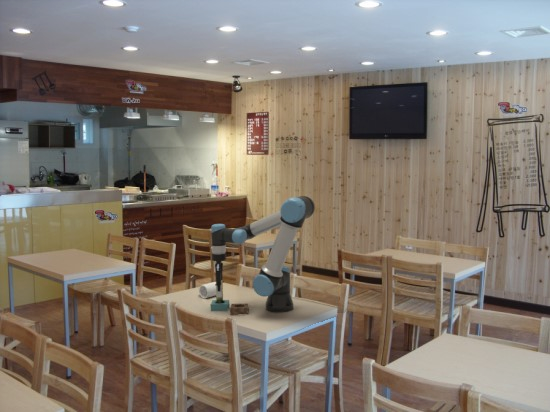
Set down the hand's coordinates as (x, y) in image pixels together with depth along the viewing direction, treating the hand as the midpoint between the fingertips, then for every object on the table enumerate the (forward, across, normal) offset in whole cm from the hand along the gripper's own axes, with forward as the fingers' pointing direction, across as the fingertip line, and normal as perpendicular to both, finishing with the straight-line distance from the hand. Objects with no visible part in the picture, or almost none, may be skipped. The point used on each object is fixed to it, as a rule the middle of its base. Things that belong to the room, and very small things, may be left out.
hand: (219, 295), depth 310 cm
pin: (+5, 0, 0) cm, 5 cm away
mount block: (+7, +8, +11) cm, 15 cm away
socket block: (+7, 0, 0) cm, 7 cm away
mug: (+7, -27, -10) cm, 30 cm away
